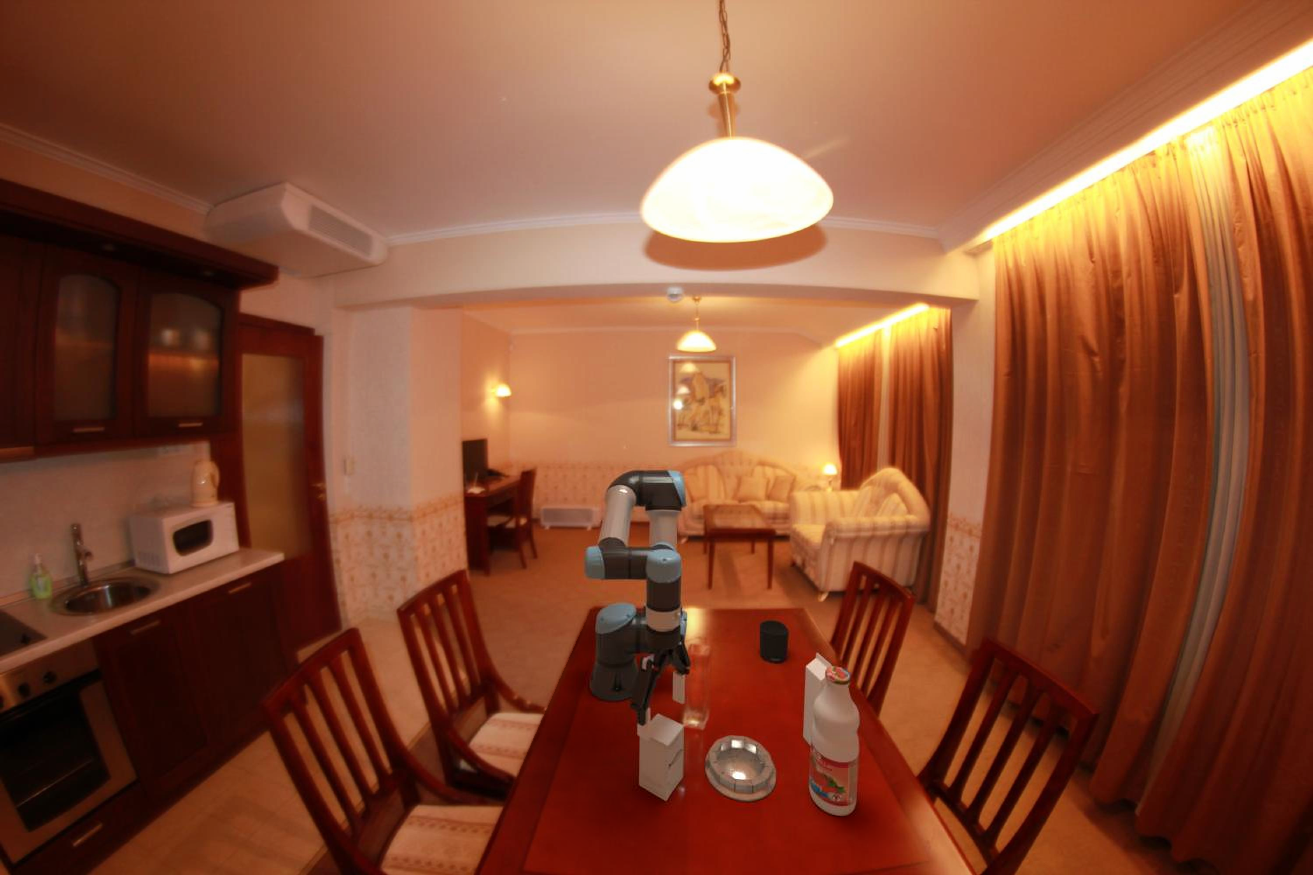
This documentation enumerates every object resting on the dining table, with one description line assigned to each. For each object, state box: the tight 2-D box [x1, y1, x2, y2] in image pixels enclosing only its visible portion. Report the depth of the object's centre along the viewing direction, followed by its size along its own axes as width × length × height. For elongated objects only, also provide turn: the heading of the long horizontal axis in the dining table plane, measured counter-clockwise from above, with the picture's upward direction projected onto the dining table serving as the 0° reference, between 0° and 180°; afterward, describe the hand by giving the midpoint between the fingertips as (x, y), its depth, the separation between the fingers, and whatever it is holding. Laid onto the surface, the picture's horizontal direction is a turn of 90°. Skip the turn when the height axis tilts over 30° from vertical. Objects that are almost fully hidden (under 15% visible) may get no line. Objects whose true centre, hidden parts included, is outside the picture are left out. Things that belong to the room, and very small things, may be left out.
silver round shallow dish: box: [704, 734, 777, 803], centre depth 101 cm, size 16×16×3 cm
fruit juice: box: [808, 665, 860, 817], centre depth 94 cm, size 9×9×28 cm
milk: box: [802, 652, 833, 747], centre depth 109 cm, size 6×6×22 cm
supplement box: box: [638, 713, 685, 802], centre depth 98 cm, size 7×7×13 cm
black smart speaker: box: [759, 619, 790, 664], centre depth 147 cm, size 9×9×10 cm
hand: (662, 717), depth 97 cm, fingers open, 13 cm apart
